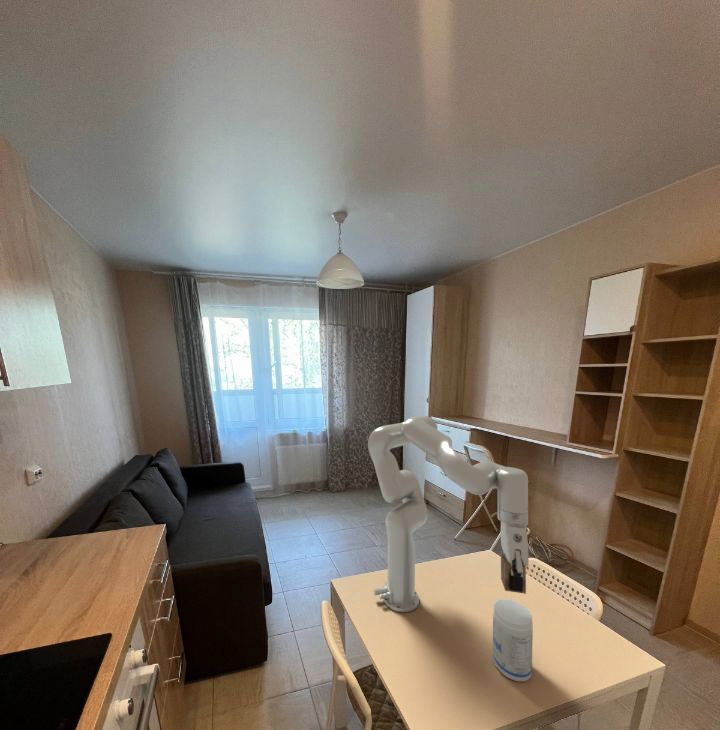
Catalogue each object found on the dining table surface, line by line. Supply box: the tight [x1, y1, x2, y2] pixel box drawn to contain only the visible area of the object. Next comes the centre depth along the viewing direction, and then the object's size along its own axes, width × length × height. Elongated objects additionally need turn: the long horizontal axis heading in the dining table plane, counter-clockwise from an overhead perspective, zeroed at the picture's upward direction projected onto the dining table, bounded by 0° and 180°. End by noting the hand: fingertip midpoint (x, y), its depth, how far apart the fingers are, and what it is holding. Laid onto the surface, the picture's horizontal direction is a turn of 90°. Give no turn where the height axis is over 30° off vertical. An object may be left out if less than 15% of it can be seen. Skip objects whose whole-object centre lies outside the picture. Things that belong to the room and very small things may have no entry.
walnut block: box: [500, 552, 527, 595], centre depth 83 cm, size 5×5×7 cm
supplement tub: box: [492, 598, 534, 683], centre depth 82 cm, size 10×10×15 cm
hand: (512, 582), depth 83 cm, fingers closed on walnut block, 5 cm apart
